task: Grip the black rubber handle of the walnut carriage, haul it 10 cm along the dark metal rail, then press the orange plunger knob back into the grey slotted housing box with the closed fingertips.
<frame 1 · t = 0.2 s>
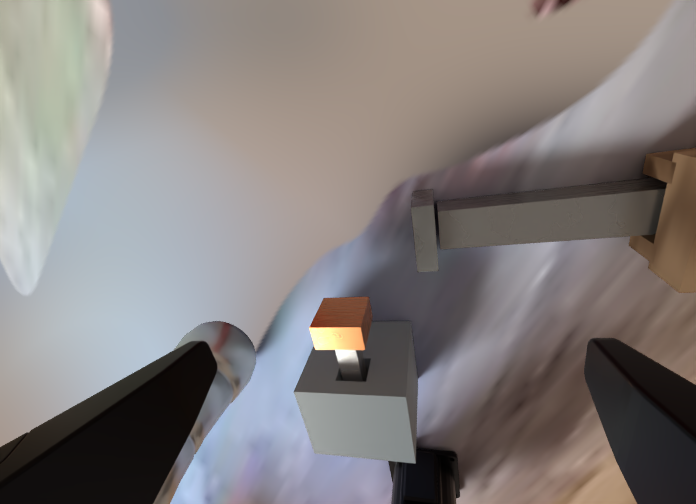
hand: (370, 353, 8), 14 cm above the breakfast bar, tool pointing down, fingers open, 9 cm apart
grey slotted housing box: (371, 351, 27), on the breakfast bar
rail: (602, 203, 18), on the breakfast bar
plunger: (350, 357, 21), point 5 cm above the breakfast bar, slide at 0.0 cm
plastic bottle: (232, 339, 30), on the breakfast bar
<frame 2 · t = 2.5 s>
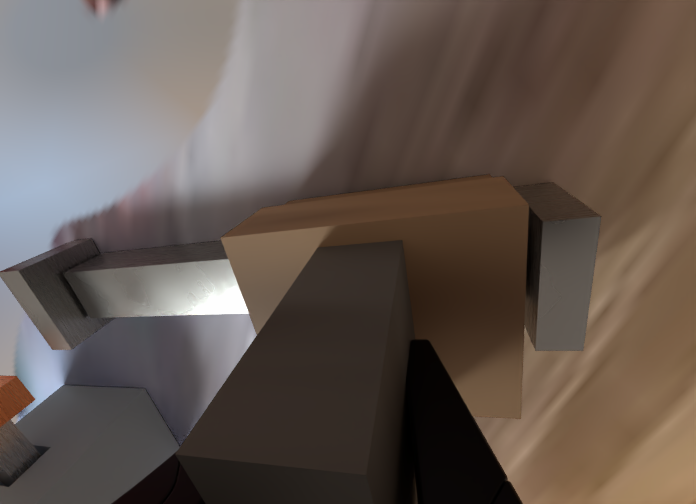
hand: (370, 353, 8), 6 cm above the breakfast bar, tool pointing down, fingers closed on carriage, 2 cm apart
grey slotted housing box: (123, 418, 22), on the breakfast bar
rail: (275, 261, 14), on the breakfast bar
carriage: (373, 338, 8), point 5 cm above the breakfast bar, slide at 0.0 cm, touching gripper
plunger: (5, 450, 16), point 5 cm above the breakfast bar, slide at 0.0 cm
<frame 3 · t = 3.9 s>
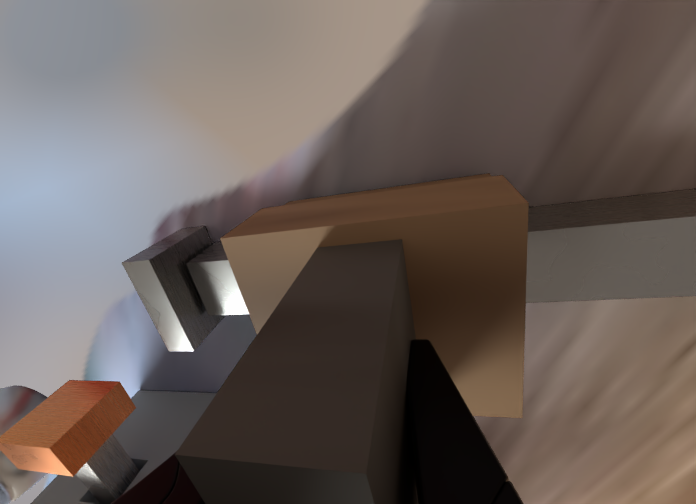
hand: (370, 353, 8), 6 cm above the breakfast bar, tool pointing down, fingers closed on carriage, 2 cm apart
grey slotted housing box: (203, 426, 21), on the breakfast bar
rail: (431, 248, 12), on the breakfast bar
carriage: (374, 338, 8), point 5 cm above the breakfast bar, slide at 6.5 cm, touching gripper
plunger: (103, 465, 15), point 5 cm above the breakfast bar, slide at 0.0 cm
plastic bottle: (52, 404, 24), on the breakfast bar
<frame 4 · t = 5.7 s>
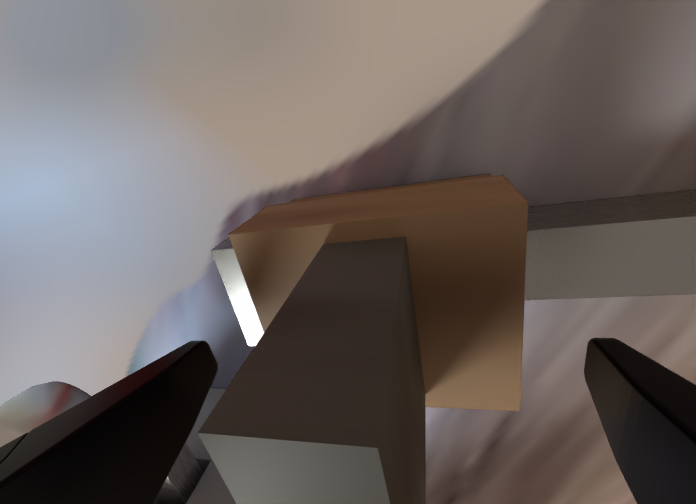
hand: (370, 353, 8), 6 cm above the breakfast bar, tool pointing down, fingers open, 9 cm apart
grey slotted housing box: (252, 424, 20), on the breakfast bar
rail: (532, 238, 11), on the breakfast bar
carriage: (377, 333, 8), point 5 cm above the breakfast bar, slide at 9.9 cm
plunger: (169, 465, 14), point 5 cm above the breakfast bar, slide at 0.0 cm
plastic bottle: (89, 400, 23), on the breakfast bar
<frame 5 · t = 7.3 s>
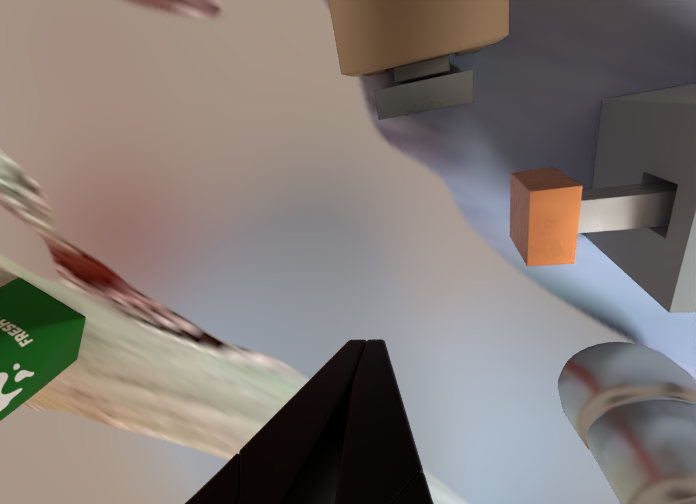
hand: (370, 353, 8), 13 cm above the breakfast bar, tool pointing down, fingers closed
milk carton: (52, 319, 32), on the breakfast bar
grey slotted housing box: (665, 165, 16), on the breakfast bar
plunger: (620, 207, 12), point 5 cm above the breakfast bar, slide at 0.0 cm
plastic bottle: (604, 364, 21), on the breakfast bar
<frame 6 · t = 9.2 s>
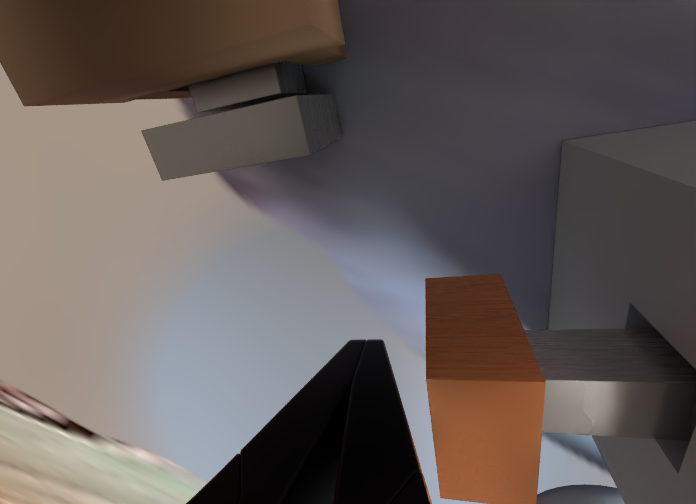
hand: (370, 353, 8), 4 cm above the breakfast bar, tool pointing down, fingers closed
grey slotted housing box: (670, 248, 9), on the breakfast bar
plunger: (635, 380, 6), point 5 cm above the breakfast bar, slide at 0.8 cm, touching gripper
plastic bottle: (581, 501, 15), on the breakfast bar
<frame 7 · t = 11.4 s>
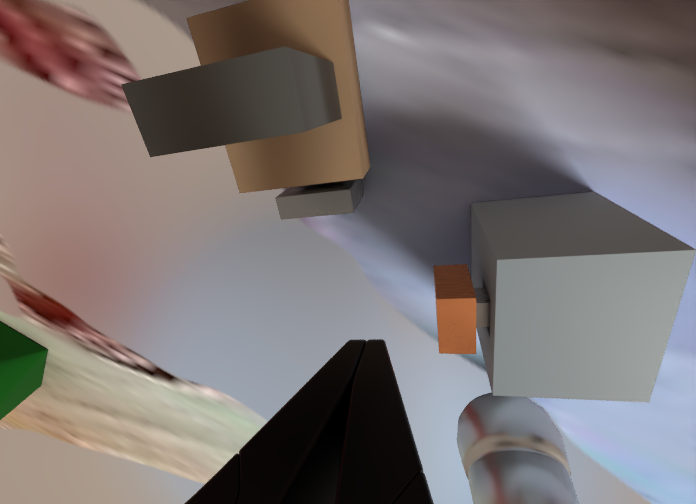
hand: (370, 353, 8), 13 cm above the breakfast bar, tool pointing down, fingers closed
milk carton: (17, 349, 34), on the breakfast bar
grey slotted housing box: (525, 255, 19), on the breakfast bar
carriage: (276, 102, 13), point 5 cm above the breakfast bar, slide at 9.9 cm
plunger: (516, 306, 15), point 5 cm above the breakfast bar, slide at 2.3 cm
plastic bottle: (499, 408, 25), on the breakfast bar
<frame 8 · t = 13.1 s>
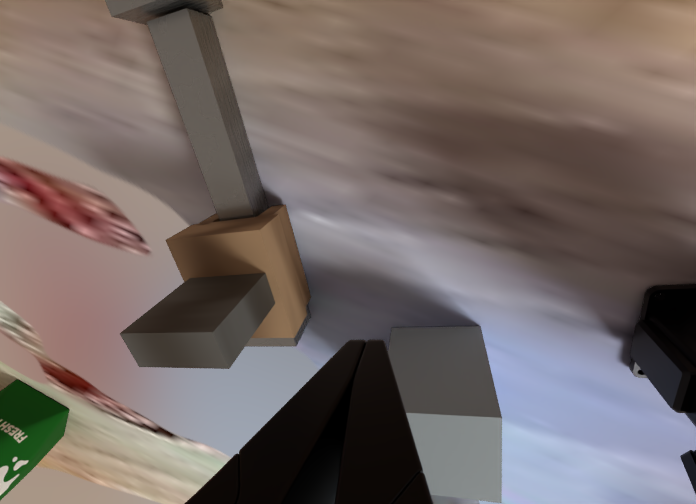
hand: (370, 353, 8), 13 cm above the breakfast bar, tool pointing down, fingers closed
milk carton: (43, 406, 40), on the breakfast bar
grey slotted housing box: (438, 364, 24), on the breakfast bar
rail: (244, 186, 21), on the breakfast bar
carriage: (229, 293, 19), point 5 cm above the breakfast bar, slide at 9.9 cm
plastic bottle: (437, 470, 30), on the breakfast bar
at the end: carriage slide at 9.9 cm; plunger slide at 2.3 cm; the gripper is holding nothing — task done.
